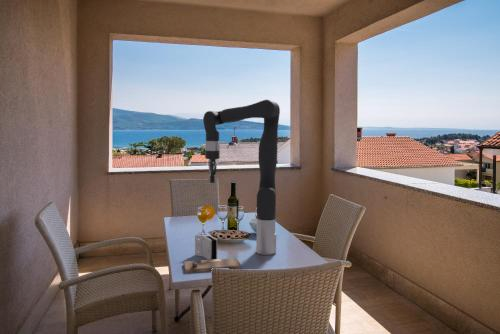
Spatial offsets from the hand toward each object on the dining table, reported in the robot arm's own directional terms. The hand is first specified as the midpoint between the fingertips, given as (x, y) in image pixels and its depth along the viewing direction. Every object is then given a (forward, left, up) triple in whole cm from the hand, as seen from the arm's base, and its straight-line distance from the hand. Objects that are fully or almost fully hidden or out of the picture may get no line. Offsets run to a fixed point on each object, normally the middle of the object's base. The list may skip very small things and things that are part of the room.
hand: (212, 182), depth 198 cm
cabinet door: (+5, +35, -33) cm, 48 cm away
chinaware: (-32, -15, -33) cm, 48 cm away
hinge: (+6, +22, -33) cm, 40 cm away
